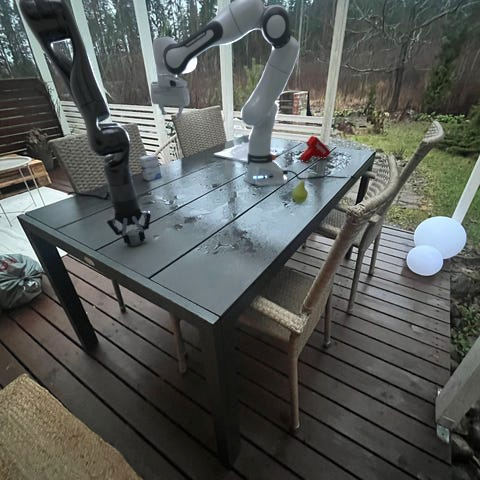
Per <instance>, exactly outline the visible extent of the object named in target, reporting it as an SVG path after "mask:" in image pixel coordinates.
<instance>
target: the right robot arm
mask: <svg viewBox="0 0 480 480" xmlns="http://www.w3.org/2000/svg"><path fill="white" fill-rule="evenodd" d="M291 25H292V24H291V18H290V14H289V12H288V10H287V9H286V7H284V6H283V5H281V4H275V3H273V4H264V2H263V0H233V1H232V2H230V3H229V4H228V5H227V6H225V7H224V8H222V9H221V10H220V12H218V14H216V15H215V16H214V17H213V18H212V19H211V20H210V21H209V22H207V24H205V26H202V27H201V28H200V29H198V30H197V31H196V32H194V33H193V34H191V35H190V36H189V37H187V38H186V39H184V40H183V41H181V42H178V41H176V40H174V39H173V38H172V37H171V36H169V35H163V36H157V37H156V38H154V39H153V41H152V57H153V62H154V65H155V76H156V81H152V82H151V83H150V101H151V103H152V104H153V105H158V108H159V110H160V112H161V116H167V115H168V113H167V110H166V109H165V106H177V109H178V111H177V112H176V116H177V117H182V116H183V110H184V107H187V106H189V105H190V102H191V101H190V94H189V93H190V92H189V89H188V87H187V86H188V82H187V81H186V80H185V79H183V78H180V77H178V75H181V74H188V73H191V72H193V71H195V70H196V68H197V63H198V57H197V56H199V55H201V54H202V53H203V52H205V51H206V50H208V49H210V48H212V47H215V46H223V45H226V46H227V45H230V44H232V43H235V42H237V41H239V40H240V39H242V38H243V37H244V36H246V35H247V34H249V33H250V32H252V31H254V30H259V31H260V32H261V33H262V36H263V37H264V39H265V40H266V41H267V42H268V43H269V44H270V45H271V47H272V48H271V52H270V55H269V57H268V60H267V62H266V65H265V67H264V70H263V72H262V75H261V77H260V80H259V82H258V83H257V85H256V87H255V88H254V90H253V92H252V93H251V95H250V97H249V98H248V100H247V101H246V103H245V104H243V106H242V108H241V111H240V112H241V113H240V117H241V120H242V122H243V123H244V124H245V125H246V126H250V127H251V131H250V132H249V133H250V134H249V136H248V143H249V152H248V155H247V163H246V164H247V171H246V175H245V177H244V179H245V180H244V181H245V182H246V183H249V184H252V185H255V186H257V187H267V186H279V185H286V184H288V182H289V181H288V180H289V179H288V177H287V175H288V173H292V174H294V175H295V176H296V178H297V179H298V180H305V179H306V178H307V177H299V176H298V173H297V172H295V171H293V170H290V169H288V168H287V167H283V166H281V165H280V164H279V163H277V162H276V161H275V160H276V158H277V156H274V155H273V154H272V153H270V151H271V146H272V135H273V130H274V126H275V122H276V118H277V116H278V114H279V111H280V110H279V103H278V102H277V100H278V98H279V97H280V96H281V95H282V94H283V92H284V90H285V88H286V85H287V84H288V81H289V79H290V77H291V74H292V72H293V71H294V68H295V66H296V62H297V60H298V57H299V53H300V43H299V42H298V40H297V39H296V38H295V37H293V36H292V35H291V27H292V26H291ZM320 178H333V179H346V178H348V177H345V176H335V175H318V176H317V175H316V176H310V177H309V178H307V179H306V180H309V179H320ZM350 178H351V179H354V178H355V177H354V176H353V175H351V177H350Z"/></svg>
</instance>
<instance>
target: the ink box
mask: <svg viewBox="0 0 480 480" xmlns="http://www.w3.org/2000/svg"><path fill="white" fill-rule="evenodd" d="M138 158H139V162H140V168H141V173H142V178H143V180H145V181H148V182H149V181H152V180H153V181H154V180H156V179H159V178H162V173H161V167H160V160H159V156H158V155H156V154H149V155H145V156H144V155H143V156H139V157H138Z"/></svg>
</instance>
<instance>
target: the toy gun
mask: <svg viewBox="0 0 480 480" xmlns="http://www.w3.org/2000/svg"><path fill="white" fill-rule="evenodd" d="M306 146H307V148H306V149H305V151H304V152H303V153H301V154H300V160H301V161H302V160H303V161H302V162H305V163H307V164H308V163H309V161H310V160H311V158H313V157H314V158H319V159H322V160H327V158H328V157H329V156H330V154H331V153H332V152H331V151H330V150H329V148H328V147H326V145H325V144H324V143H323V142H322V141H321V140H320V139H319V138H318V137H317V136H315V135H314V136H313V135H311V136H310V137H309V139H308V140H307V141H306ZM321 157H322V158H321ZM323 157H327V158H324V159H323ZM306 161H308V162H306Z"/></svg>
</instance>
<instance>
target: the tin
mask: <svg viewBox="0 0 480 480" xmlns="http://www.w3.org/2000/svg"><path fill="white" fill-rule="evenodd" d="M126 232H127V237H128V240H129V244H128V245H129V246H131V247H135V246H139V245H141V244H142V243H143V241H142V240H141V236H140V232H139V229H138V228H132V229H130V230H128V231H126Z"/></svg>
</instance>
